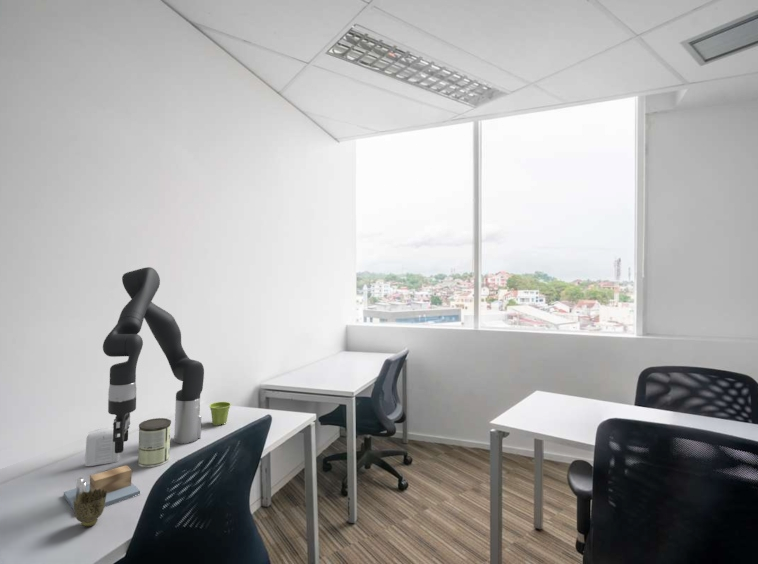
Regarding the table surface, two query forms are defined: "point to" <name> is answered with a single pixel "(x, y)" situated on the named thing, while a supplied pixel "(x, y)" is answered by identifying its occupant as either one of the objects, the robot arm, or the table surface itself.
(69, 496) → the base board
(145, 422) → the coffee can
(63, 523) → the table surface
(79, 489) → the dowel pins
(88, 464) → the photo printer
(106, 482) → the flange bar
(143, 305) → the robot arm
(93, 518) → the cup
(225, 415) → the plant pot
